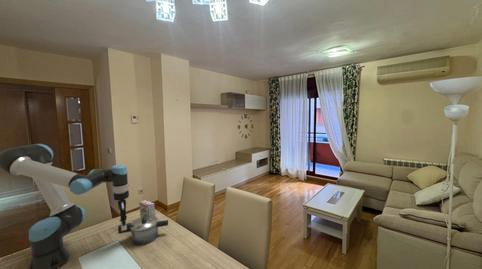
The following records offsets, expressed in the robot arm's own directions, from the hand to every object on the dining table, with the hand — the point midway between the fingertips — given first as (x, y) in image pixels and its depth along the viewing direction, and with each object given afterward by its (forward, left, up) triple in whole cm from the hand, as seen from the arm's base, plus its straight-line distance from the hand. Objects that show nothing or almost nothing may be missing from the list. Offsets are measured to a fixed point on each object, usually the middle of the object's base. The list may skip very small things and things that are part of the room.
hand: (124, 229), depth 115 cm
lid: (+7, +3, -1) cm, 8 cm away
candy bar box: (+9, +19, -10) cm, 24 cm away
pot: (+10, +4, -10) cm, 15 cm away
